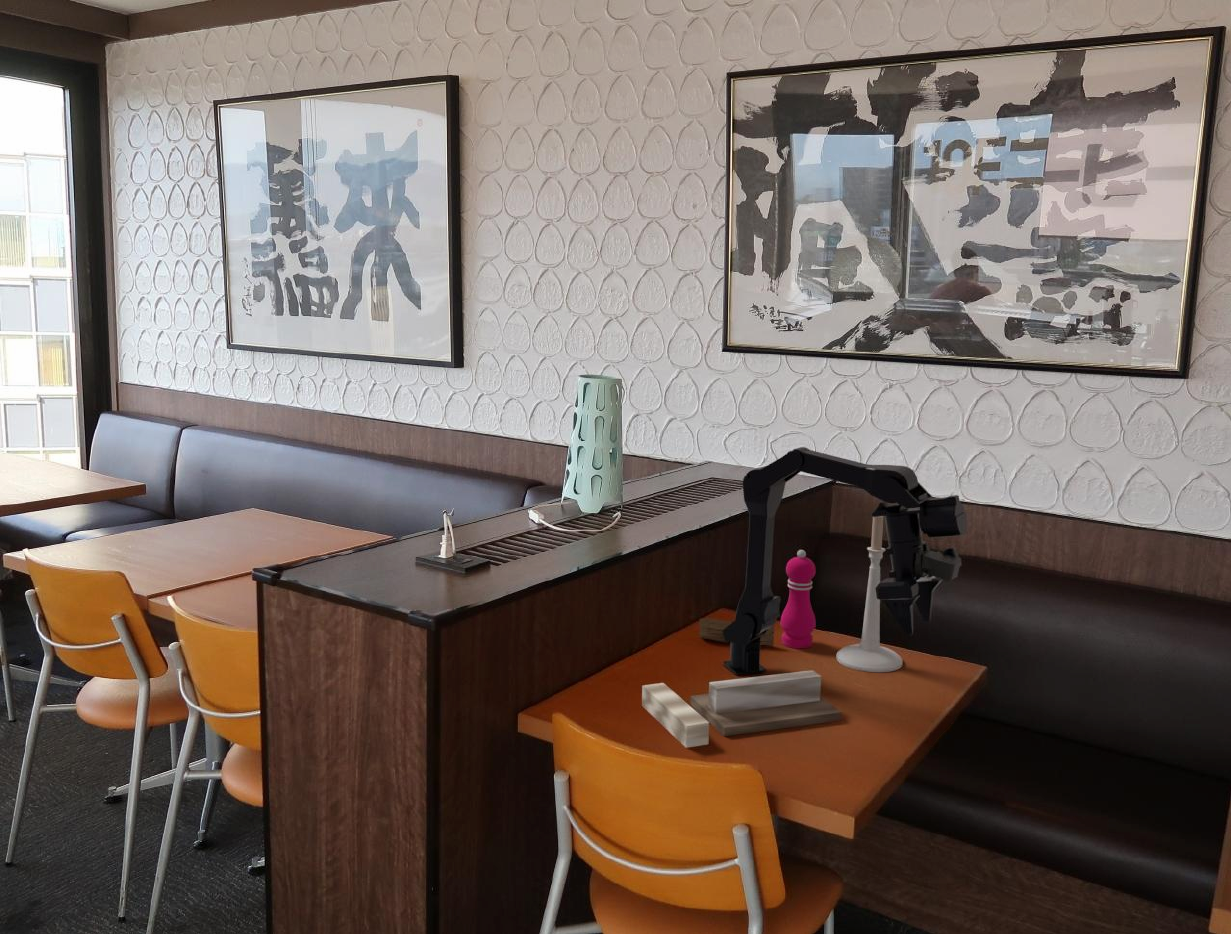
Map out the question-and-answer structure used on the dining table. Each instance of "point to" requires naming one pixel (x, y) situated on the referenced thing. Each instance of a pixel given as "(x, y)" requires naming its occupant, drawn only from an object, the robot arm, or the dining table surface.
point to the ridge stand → (765, 703)
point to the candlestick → (871, 620)
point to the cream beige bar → (675, 715)
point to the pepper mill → (799, 603)
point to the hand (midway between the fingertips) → (918, 627)
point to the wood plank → (715, 628)
